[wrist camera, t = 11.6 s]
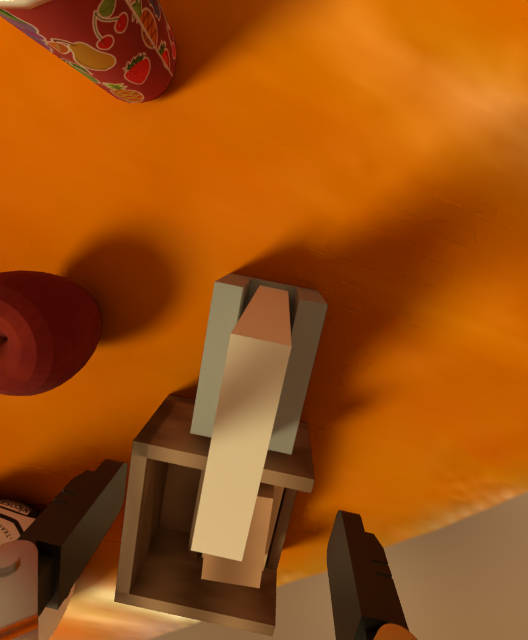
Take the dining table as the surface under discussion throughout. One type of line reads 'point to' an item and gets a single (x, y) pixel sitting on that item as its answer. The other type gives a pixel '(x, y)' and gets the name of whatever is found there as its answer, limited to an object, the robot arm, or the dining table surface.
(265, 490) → the offcut small
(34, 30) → the smoothie
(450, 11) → the dining table surface
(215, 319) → the holder
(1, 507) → the milk container
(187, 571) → the box
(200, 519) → the cream rectangular board
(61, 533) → the robot arm
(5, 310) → the apple
